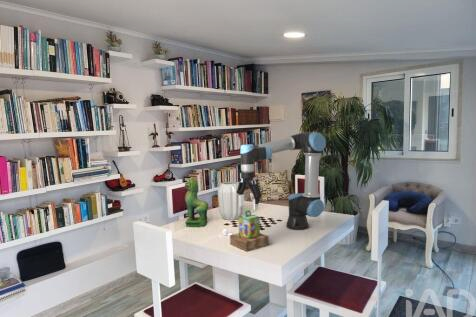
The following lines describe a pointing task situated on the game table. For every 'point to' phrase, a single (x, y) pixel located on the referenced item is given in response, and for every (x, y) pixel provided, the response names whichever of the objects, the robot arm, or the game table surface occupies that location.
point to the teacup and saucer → (225, 233)
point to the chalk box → (249, 225)
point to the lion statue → (195, 205)
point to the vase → (229, 201)
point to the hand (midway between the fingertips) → (248, 207)
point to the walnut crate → (249, 242)
